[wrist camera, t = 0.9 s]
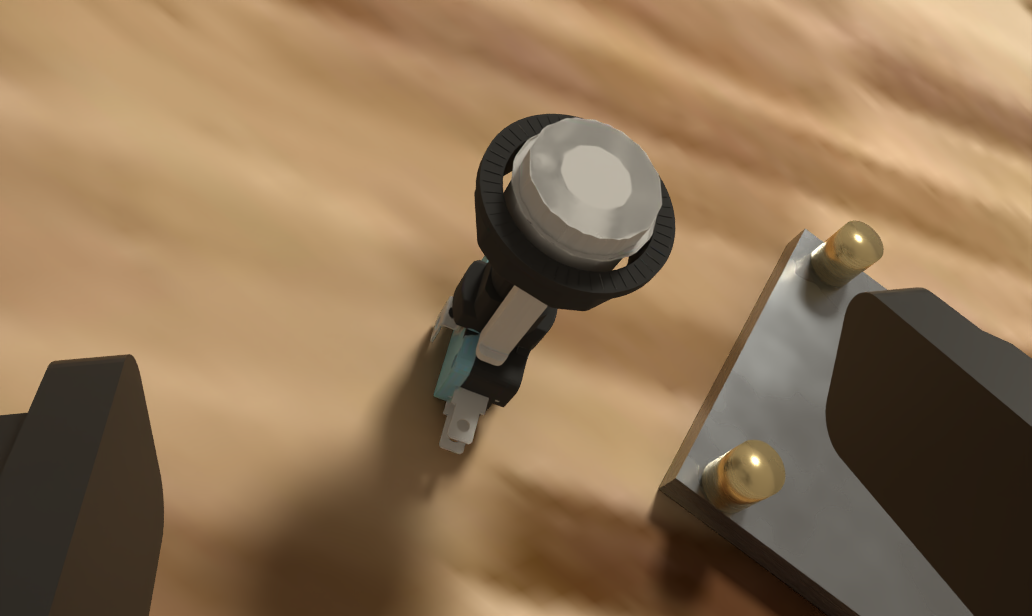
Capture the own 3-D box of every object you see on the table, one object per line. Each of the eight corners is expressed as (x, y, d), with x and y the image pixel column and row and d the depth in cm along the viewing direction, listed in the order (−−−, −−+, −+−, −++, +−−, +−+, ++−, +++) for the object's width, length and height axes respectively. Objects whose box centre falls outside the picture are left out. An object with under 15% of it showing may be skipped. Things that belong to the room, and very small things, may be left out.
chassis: (658, 489, 31) (707, 458, 28) (787, 243, 38) (836, 201, 35) (972, 723, 31) (1051, 714, 28) (1041, 433, 38) (1108, 405, 35)
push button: (521, 484, 29) (672, 354, 21) (361, 426, 28) (453, 267, 20) (562, 310, 33) (705, 141, 24) (421, 254, 32) (520, 58, 23)
